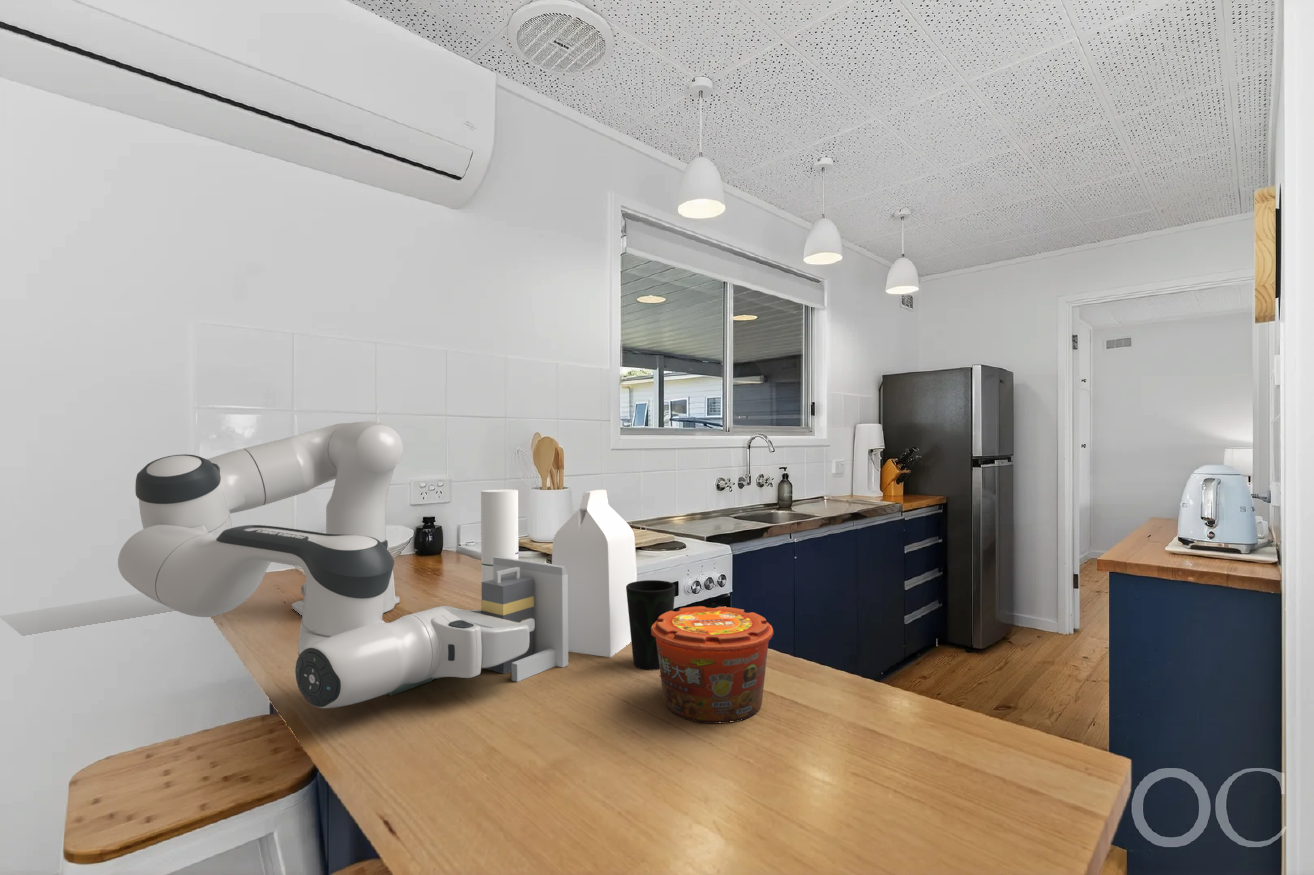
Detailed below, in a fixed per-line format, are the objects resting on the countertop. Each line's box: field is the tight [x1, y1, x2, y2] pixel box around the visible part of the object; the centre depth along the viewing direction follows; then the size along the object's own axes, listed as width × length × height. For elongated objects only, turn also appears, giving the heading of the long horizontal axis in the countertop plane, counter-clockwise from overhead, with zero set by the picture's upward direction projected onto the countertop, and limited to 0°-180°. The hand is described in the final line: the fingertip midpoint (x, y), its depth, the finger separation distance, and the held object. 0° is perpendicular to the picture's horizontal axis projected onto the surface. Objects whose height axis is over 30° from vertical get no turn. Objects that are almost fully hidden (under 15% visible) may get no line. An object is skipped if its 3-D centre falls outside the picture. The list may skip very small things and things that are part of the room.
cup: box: [626, 579, 676, 671], centre depth 95 cm, size 8×8×12 cm
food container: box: [651, 605, 774, 724], centre depth 80 cm, size 16×16×11 cm
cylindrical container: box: [480, 488, 519, 598], centre depth 121 cm, size 7×7×25 cm
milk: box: [551, 489, 638, 658], centre depth 105 cm, size 12×12×26 cm
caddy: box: [480, 567, 534, 675], centre depth 95 cm, size 5×6×15 cm
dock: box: [493, 556, 569, 683], centre depth 95 cm, size 16×9×15 cm, turn 54°
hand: (510, 618), depth 95 cm, fingers open, 8 cm apart
